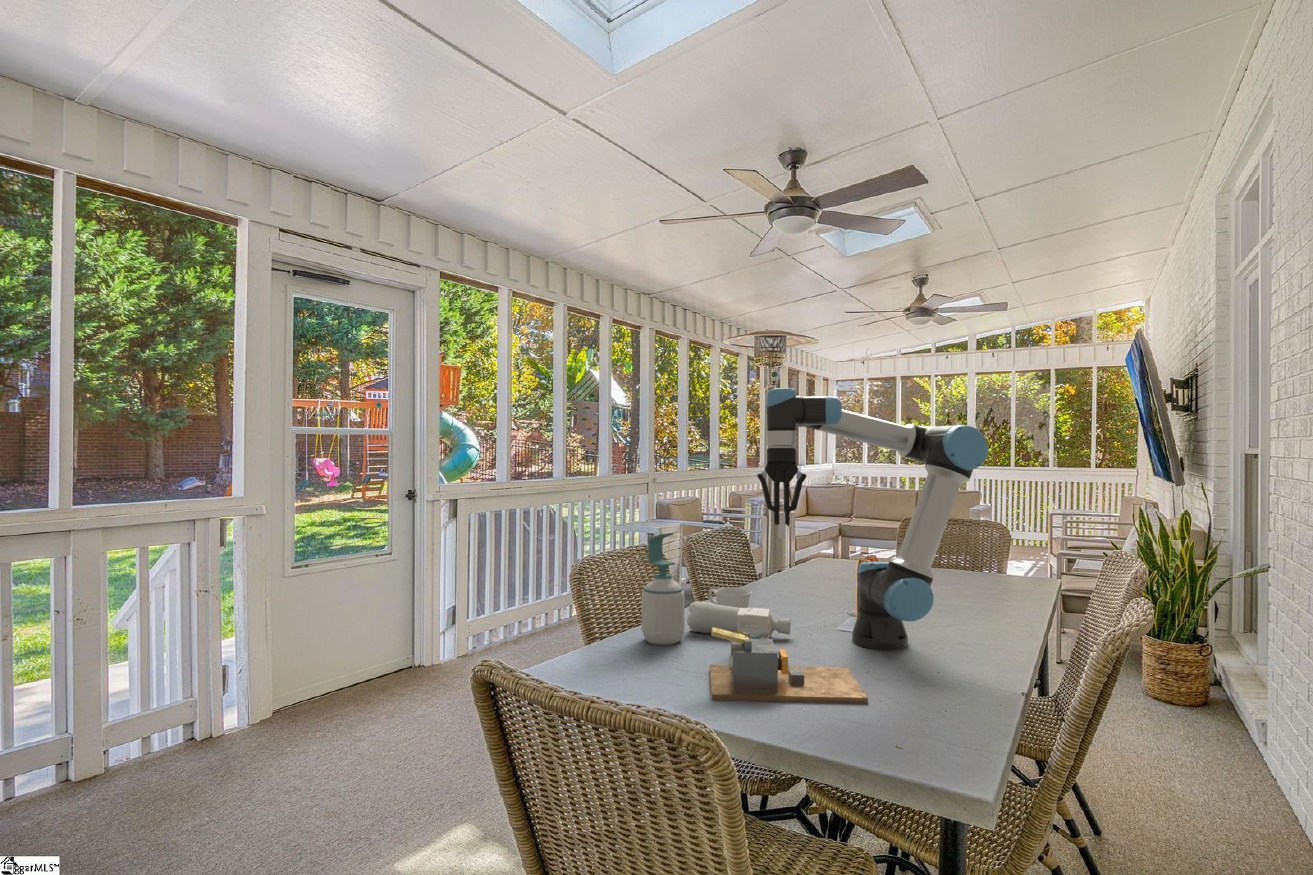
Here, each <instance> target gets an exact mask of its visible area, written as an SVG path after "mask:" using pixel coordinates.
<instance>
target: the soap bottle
mask: <svg viewBox="0 0 1313 875" xmlns="http://www.w3.org/2000/svg"><path fill="white" fill-rule="evenodd" d="M672 535H674V532H669V533H660V534H657V535H655V536H651V537H650V538H648V543H647V544H648V546H647V547H648V548H647V550H648V551H647V553H648V556H647V557H648V558H647V559H648V562H649V564H650V565H654V566H656V569H658V570H659V573H655V574H654V575H653V577H654V578H653V579H652V580H651V581H650V582H648V583H647V584H646V585H644V586H643V587H642V589H643V590H642V591H641V632H642V635H643V637H644V639H645V641H646V642H648V643H649V644H652V645H655V646H671V645H672V646H673V645H675V644H677V643H678V642H680V641H681V639H682V638H683V636H684V632H685V626H686V625H685V622H686V621H685V620H686V618H685V616H686V615H685V591H684V588H683V586H682V585H680V584H679V583H678V582H677V581H675V580H674V579H673V575H672V574H671V573H668V572H667V570H668V569H670V566H673V565H675V564H676V562H675V561H670V560H665V559H664V557H663V543H664V542H663V540H664V539H665V538H668V537H669V536H672Z"/></svg>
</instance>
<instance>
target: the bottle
mask: <svg viewBox="0 0 1313 875" xmlns="http://www.w3.org/2000/svg"><path fill="white" fill-rule="evenodd" d="M739 609H740V608H737V607H730V606H724V605H717V604H714V603H712V602H708V601H698V600H696V601H694V602H692V603H691V604H689V606H688V611H689V612H690V614H689V615H688V616H687V619H686V624H687V626H688V628H689V630H690V631H692V632H693V633H701V634H711V629H712V627H715V628H719V629H723V630H727V631H730V632H734V633H737V613H738V611H739ZM769 614H770V637H771V636H772V635H773V633H774V631H775V632H777V633H778V634H784V635H788V636H790V635H791V627H792V626H791V624H792V622H791V621H792V620H791V618H781V617H779V618H778V619H775V618H774V615H773V613H771V612H769Z"/></svg>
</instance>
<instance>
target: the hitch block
mask: <svg viewBox="0 0 1313 875" xmlns="http://www.w3.org/2000/svg"><path fill="white" fill-rule="evenodd" d="M742 635H748V637H749V632H742ZM730 657H733V670H729V664H726V665H725V664H709V675H710V689H711V690H710V691H711V701H735V702H736V701H739V702H740V701H743V702H744V701H748V702H783V703H785V702H786V703H787V702H791V703H792V702H793V703H797V702H798V703H835V704H837V703H838V704H868V703H869V697H868V696H867V695H866V692H865V691H864V689H862V687H861V686H860V684H859V682H858V681H857V680H856V678H855V677H854V675H853V674H852V672H851V671H850V669H849V668H848V667H845V666H844V667H840V666H838V667H837V666H834V667H833V666H797V665H796V666H795V665H793V666H791V665H790V666H789V665H788V674H782V673H781V671H778V658H779V652H778V651H777V649H776V645H775V644H774V641H773V638H769V639H749V640H744V644H741V643H737V642H734V641H730Z"/></svg>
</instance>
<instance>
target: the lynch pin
mask: <svg viewBox="0 0 1313 875" xmlns="http://www.w3.org/2000/svg"><path fill="white" fill-rule="evenodd" d="M728 665H729V670H733V657H731V656H728ZM788 666H789V656H788V654H787V651H786V649H785V648H778V671H781V673H782V674H788Z"/></svg>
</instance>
